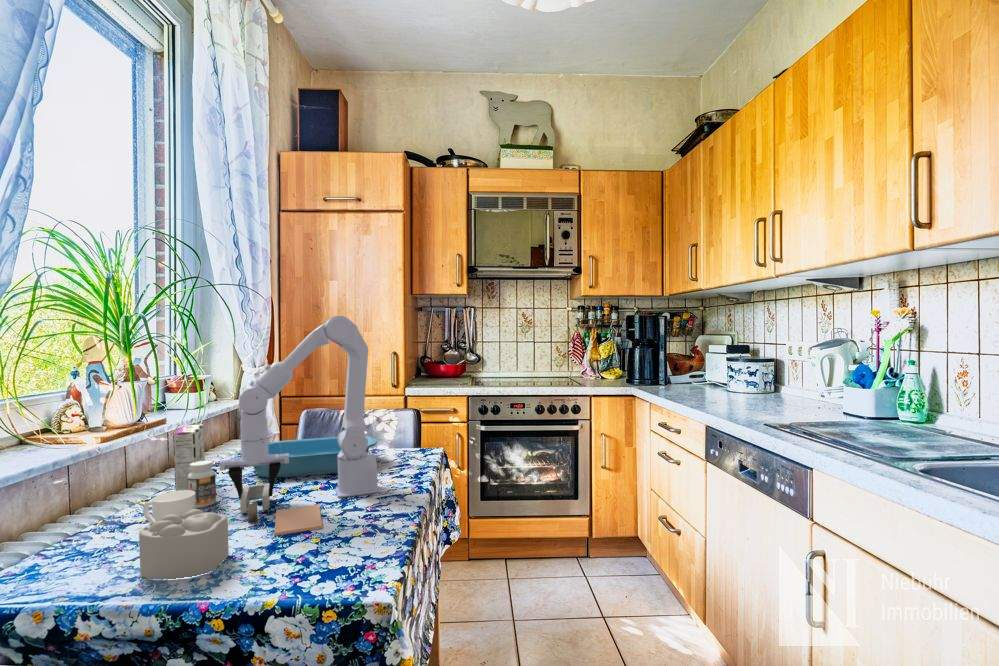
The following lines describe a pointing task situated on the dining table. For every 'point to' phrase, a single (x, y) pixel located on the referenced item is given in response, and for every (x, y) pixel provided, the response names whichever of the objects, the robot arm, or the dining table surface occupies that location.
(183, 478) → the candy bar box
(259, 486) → the link
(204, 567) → the lumpy-topped squat cylinder
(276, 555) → the dining table surface
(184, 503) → the cup
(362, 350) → the robot arm
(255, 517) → the stand
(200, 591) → the dining table surface
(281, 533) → the trivet
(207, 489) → the pill bottle
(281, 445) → the casserole dish
